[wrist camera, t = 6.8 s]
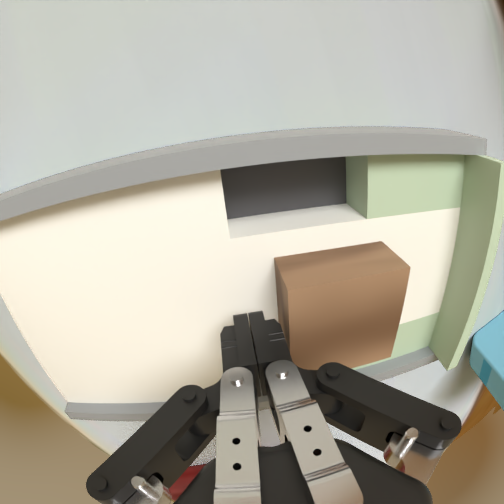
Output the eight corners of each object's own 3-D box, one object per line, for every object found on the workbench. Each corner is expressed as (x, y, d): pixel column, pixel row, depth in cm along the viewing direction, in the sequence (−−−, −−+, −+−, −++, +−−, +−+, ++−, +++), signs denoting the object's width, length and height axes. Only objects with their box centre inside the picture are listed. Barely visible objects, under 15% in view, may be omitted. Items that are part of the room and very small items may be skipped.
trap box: (-5, 196, 14) (-62, 231, 9) (445, 129, 16) (511, 145, 11) (81, 383, 22) (65, 438, 16) (417, 329, 24) (452, 374, 18)
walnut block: (274, 257, 15) (287, 290, 12) (381, 240, 16) (410, 267, 13) (279, 345, 18) (290, 382, 15) (370, 326, 18) (390, 356, 16)
